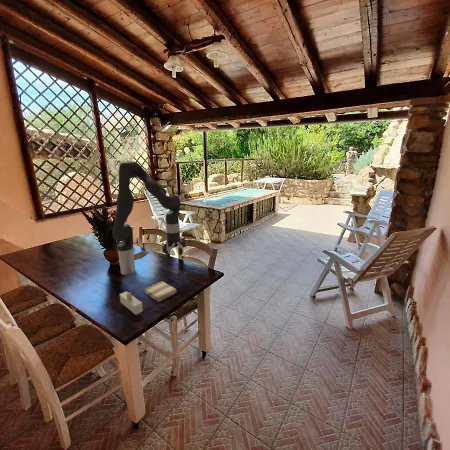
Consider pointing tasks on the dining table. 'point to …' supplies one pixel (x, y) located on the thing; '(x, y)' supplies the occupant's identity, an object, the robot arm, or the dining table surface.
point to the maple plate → (160, 291)
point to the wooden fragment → (140, 255)
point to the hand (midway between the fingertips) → (174, 256)
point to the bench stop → (131, 302)
